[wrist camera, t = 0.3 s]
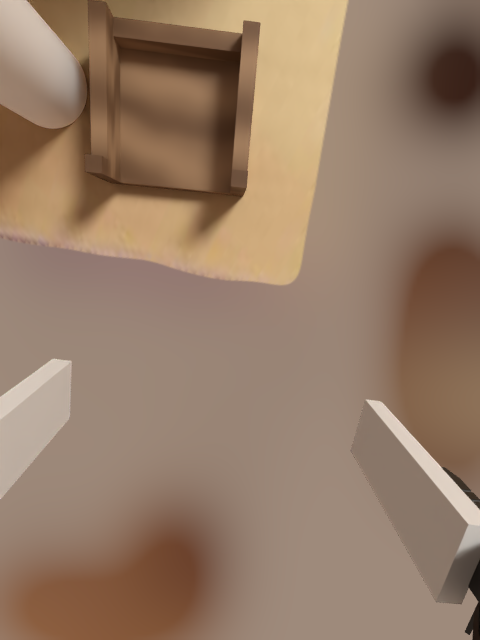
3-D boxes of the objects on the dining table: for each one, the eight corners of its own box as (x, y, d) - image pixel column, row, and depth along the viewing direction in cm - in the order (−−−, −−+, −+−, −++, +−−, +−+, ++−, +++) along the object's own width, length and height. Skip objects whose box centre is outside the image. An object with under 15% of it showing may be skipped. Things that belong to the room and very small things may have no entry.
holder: (110, 37, 33) (80, -13, 27) (255, 55, 34) (262, 11, 28) (111, 183, 37) (85, 171, 30) (243, 196, 38) (246, 187, 31)
